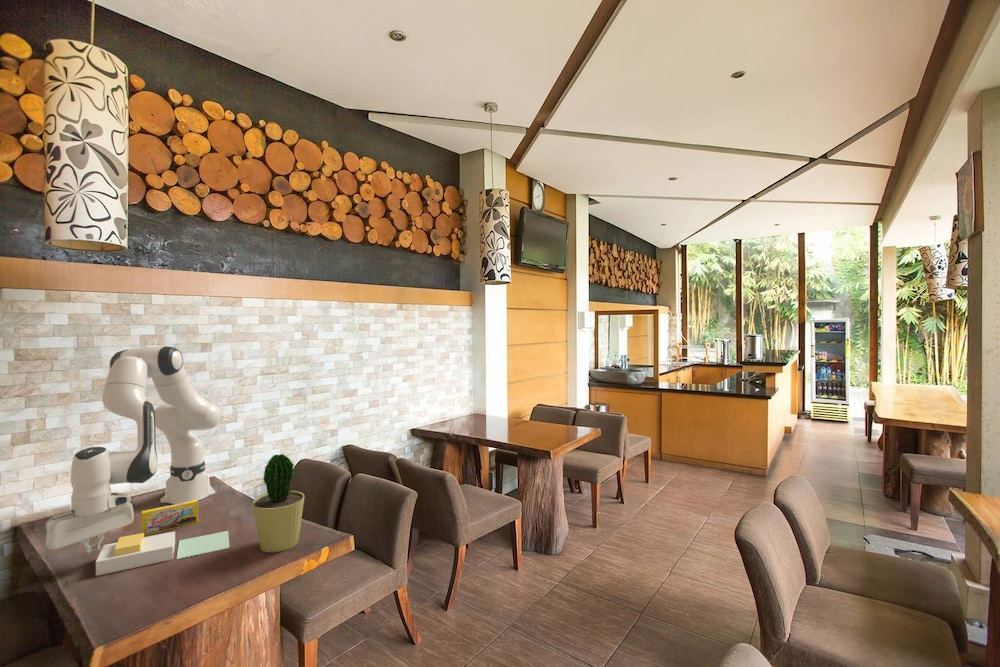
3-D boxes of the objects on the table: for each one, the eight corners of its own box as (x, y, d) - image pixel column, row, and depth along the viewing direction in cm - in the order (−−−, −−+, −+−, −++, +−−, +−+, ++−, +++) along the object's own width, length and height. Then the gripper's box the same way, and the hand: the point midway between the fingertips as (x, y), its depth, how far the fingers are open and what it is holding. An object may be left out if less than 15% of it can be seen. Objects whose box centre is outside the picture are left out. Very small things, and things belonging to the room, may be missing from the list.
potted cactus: (250, 559, 144) (248, 462, 143) (255, 537, 158) (254, 449, 157) (304, 550, 149) (303, 456, 149) (305, 530, 164) (304, 444, 163)
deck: (104, 557, 144) (103, 544, 144) (175, 543, 154) (175, 531, 154) (95, 575, 134) (95, 562, 134) (172, 559, 144) (172, 546, 143)
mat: (179, 541, 155) (179, 540, 155) (228, 531, 162) (228, 530, 162) (176, 559, 143) (176, 558, 143) (229, 548, 151) (229, 547, 151)
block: (119, 543, 145) (119, 537, 145) (143, 539, 148) (143, 532, 148) (114, 556, 137) (114, 549, 137) (140, 551, 141) (140, 544, 140)
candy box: (142, 537, 158) (141, 512, 158) (141, 535, 160) (141, 510, 160) (198, 523, 169) (198, 500, 169) (197, 521, 171) (197, 498, 171)
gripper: (51, 520, 127) (53, 570, 128) (136, 494, 146) (137, 538, 146) (40, 515, 130) (41, 565, 130) (124, 491, 148) (125, 534, 149)
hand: (92, 550), depth 138 cm, fingers closed
